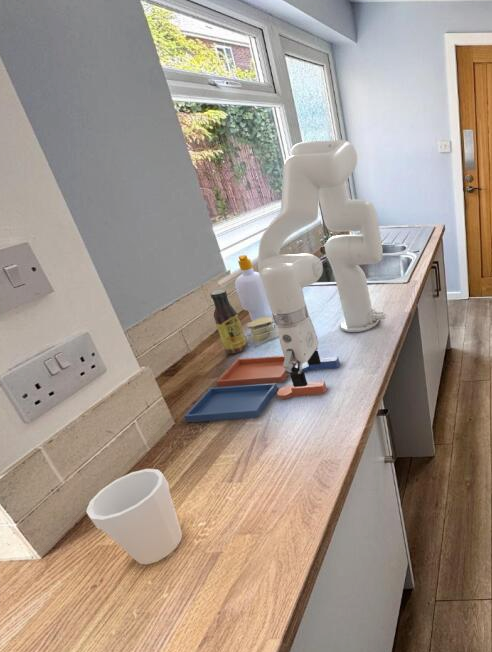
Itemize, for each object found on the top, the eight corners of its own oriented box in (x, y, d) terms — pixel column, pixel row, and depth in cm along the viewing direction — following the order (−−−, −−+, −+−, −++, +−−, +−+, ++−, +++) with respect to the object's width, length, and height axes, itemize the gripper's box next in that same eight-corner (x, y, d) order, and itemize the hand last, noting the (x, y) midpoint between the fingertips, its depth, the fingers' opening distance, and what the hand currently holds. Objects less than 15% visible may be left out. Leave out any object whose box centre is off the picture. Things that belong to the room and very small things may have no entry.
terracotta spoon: (328, 386, 108) (326, 378, 107) (322, 396, 104) (320, 388, 103) (282, 389, 108) (279, 382, 107) (275, 399, 104) (272, 392, 103)
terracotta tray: (298, 360, 121) (296, 354, 120) (282, 382, 111) (280, 376, 110) (240, 364, 120) (237, 358, 120) (218, 387, 110) (216, 381, 109)
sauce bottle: (238, 355, 125) (216, 297, 117) (221, 354, 126) (198, 296, 118) (253, 344, 131) (234, 288, 123) (237, 343, 132) (216, 287, 124)
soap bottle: (247, 327, 142) (224, 263, 132) (248, 316, 151) (226, 255, 140) (279, 320, 146) (259, 257, 136) (278, 309, 155) (259, 249, 144)
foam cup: (150, 523, 73) (118, 471, 67) (203, 518, 73) (176, 465, 68) (109, 577, 64) (69, 523, 59) (170, 571, 65) (135, 516, 59)
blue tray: (278, 388, 108) (276, 382, 108) (258, 417, 98) (256, 410, 97) (213, 393, 108) (210, 387, 107) (186, 422, 98) (183, 416, 97)
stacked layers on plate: (256, 346, 130) (250, 331, 128) (243, 338, 135) (238, 324, 133) (286, 333, 137) (281, 318, 135) (273, 326, 142) (269, 312, 140)
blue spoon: (341, 361, 119) (339, 354, 118) (336, 370, 115) (334, 362, 114) (299, 364, 119) (297, 357, 118) (293, 373, 115) (291, 366, 114)
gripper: (292, 330, 89) (310, 394, 96) (319, 299, 105) (333, 355, 112) (257, 332, 89) (278, 396, 96) (289, 301, 104) (305, 357, 111)
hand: (308, 374), depth 104 cm, fingers open, 9 cm apart
